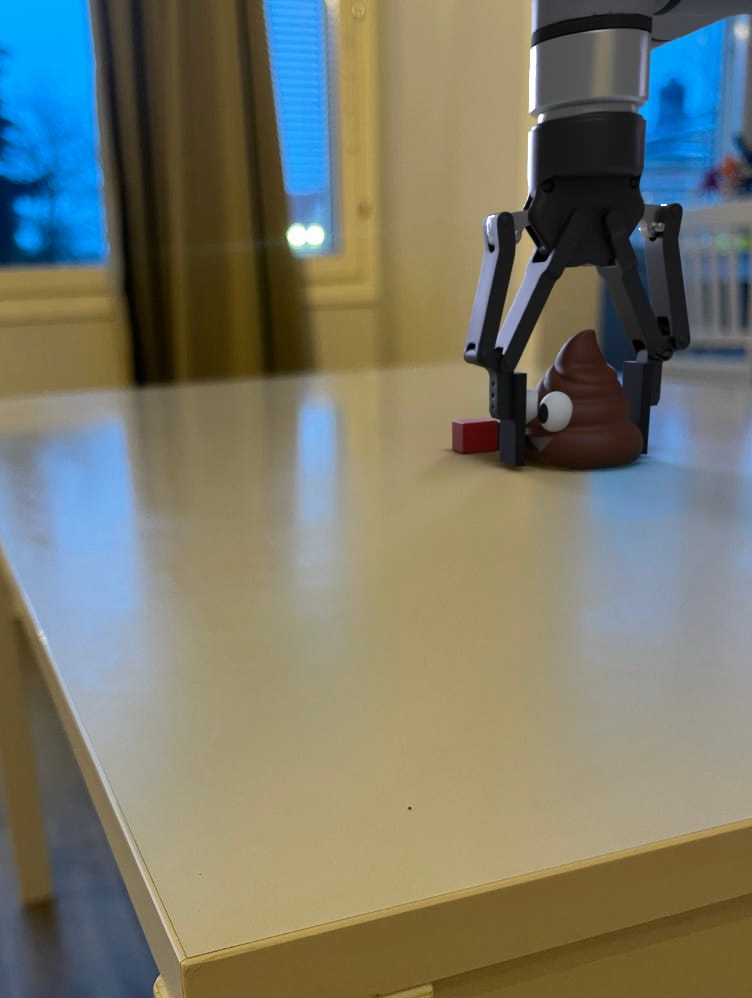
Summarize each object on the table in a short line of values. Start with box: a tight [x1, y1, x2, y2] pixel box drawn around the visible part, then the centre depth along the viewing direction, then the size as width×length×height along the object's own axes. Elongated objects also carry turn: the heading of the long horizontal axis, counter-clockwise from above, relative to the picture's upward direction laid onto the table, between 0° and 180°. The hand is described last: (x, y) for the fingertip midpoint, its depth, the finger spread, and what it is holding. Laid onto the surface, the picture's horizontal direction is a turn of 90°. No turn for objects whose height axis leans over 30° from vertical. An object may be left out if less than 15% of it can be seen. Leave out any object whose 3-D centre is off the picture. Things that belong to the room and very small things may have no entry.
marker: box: [451, 416, 500, 454], centre depth 81 cm, size 13×2×2 cm, turn 102°
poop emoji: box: [525, 328, 643, 471], centre depth 72 cm, size 10×8×9 cm
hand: (572, 457), depth 73 cm, fingers closed on poop emoji, 9 cm apart
